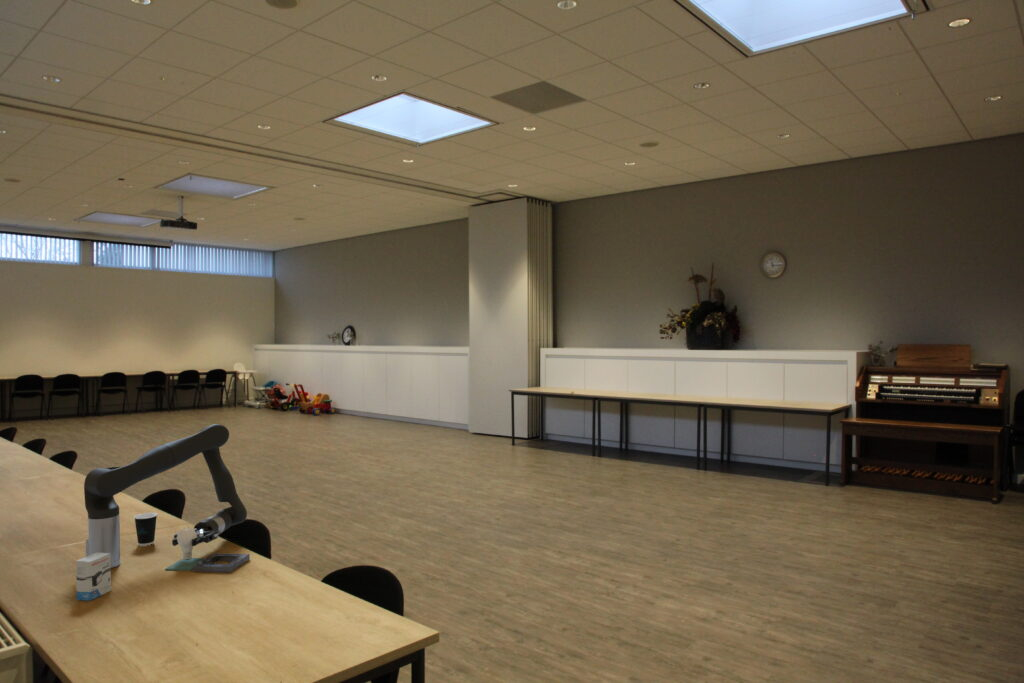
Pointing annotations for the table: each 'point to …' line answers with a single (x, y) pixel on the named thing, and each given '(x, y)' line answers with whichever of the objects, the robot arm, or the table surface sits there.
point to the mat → (185, 564)
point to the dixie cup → (145, 528)
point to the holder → (209, 565)
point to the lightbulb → (186, 541)
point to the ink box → (93, 576)
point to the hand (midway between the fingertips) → (183, 543)
